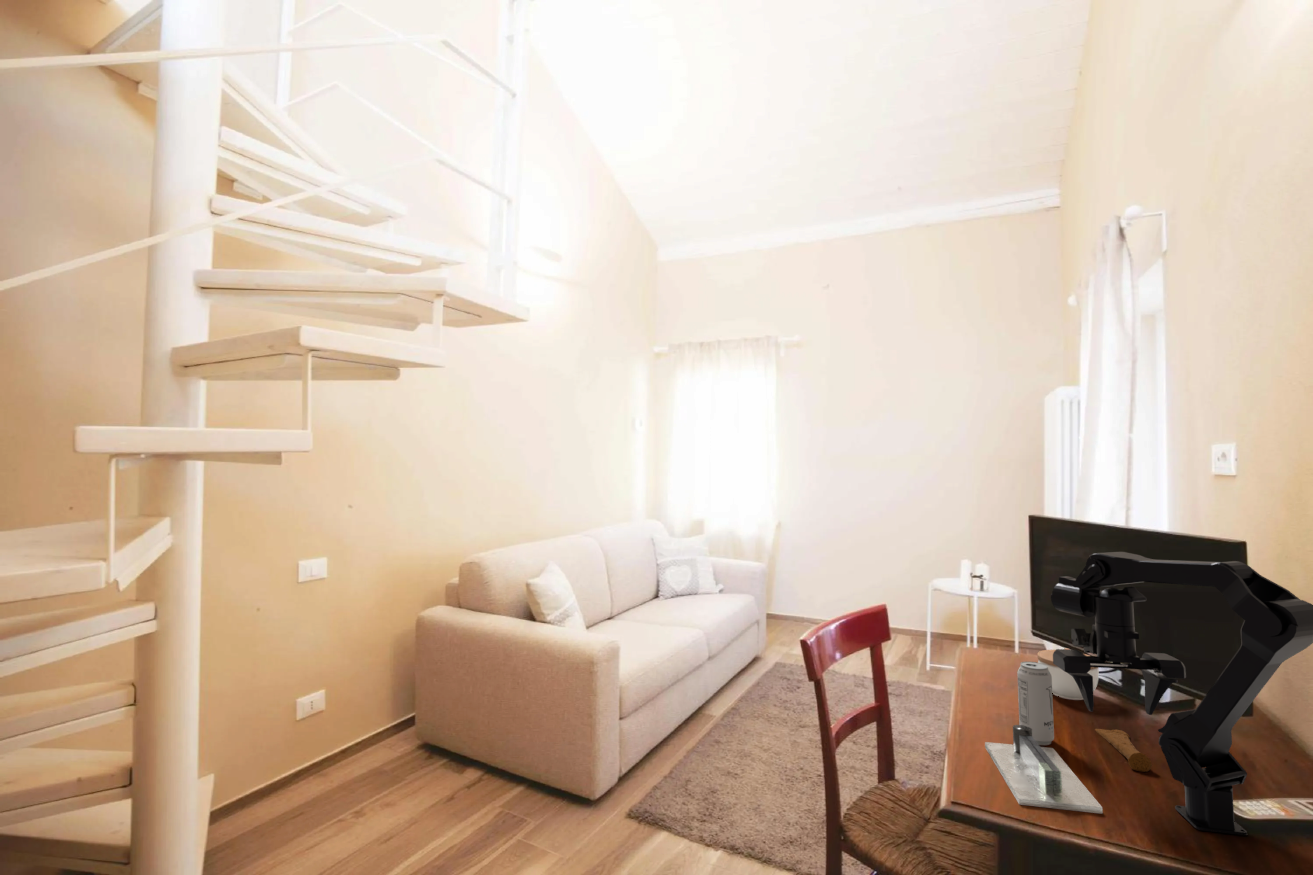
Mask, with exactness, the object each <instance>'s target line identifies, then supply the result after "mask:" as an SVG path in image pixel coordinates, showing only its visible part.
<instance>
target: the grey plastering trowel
mask: <svg viewBox="0 0 1313 875" xmlns="http://www.w3.org/2000/svg"><path fill="white" fill-rule="evenodd" d="M1026 735H1028V736H1032V729H1031V728H1030V727H1027V726H1024V725H1019V724H1014V725H1013V726H1012V738H1013V744H1011V743H1002V742H1001V743H1000V742H988V741H985V742H984V748H985V749H986V751H987V753H988V754H989V756H990V758H991V760H992V761H993V763H994V764H995V767H996V768H997V769H998V771H999V773H1000V775H1001V776H1002V778H1003V780H1004V782H1005V783H1006V785H1007V787H1008V789H1010V790H1009V791H1010V792H1011V793H1012V795H1013V796H1014V798H1015V799H1016V801H1017V803H1018V805H1022V806H1030V807H1039V808H1047V809H1056V810H1057V809H1058V810H1065V811H1074V812H1084V813H1092V814H1093V813H1094V814H1103V806H1102V805H1101V804H1100V803H1099V802H1098V800H1097V799H1096V798H1095V797H1094V795H1093V794H1092V793H1091V792H1090V791H1089V790H1088V788H1087V787H1086V785H1084V784H1083V782H1082V781H1081V780H1080V779H1079V777H1078V776H1077V775H1076V774H1075V773H1074V772H1073V771H1072V769H1071V768H1070V767H1069V765H1068V764H1067V763H1066V762H1065V761H1064V760H1063V758H1062V757H1061V756H1060V755H1059V753H1058V752H1057V751H1056V750H1055V749H1054V748H1053V747H1045V746H1040V747H1041V748H1042V750H1043V751H1044V752H1045V753H1046V755H1047V756H1048V757H1049V758H1050V760H1051V761H1052V762H1053V763H1054V764H1056V766H1057V767H1058V768H1059V769H1060V771H1061V778H1062V793H1056V792H1053V771H1052V769H1051V768H1050V767H1049V766H1048V764H1047V763H1046V762H1045V761H1044V760H1043V758H1042V757H1041V756H1040V754H1039V753H1038V752H1037V751H1036V749H1035V748H1034V747H1033V745H1032V744H1031V743H1030V741H1029V740H1028V739H1027V738H1026Z"/></svg>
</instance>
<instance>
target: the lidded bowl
mask: <svg viewBox="0 0 1313 875" xmlns="http://www.w3.org/2000/svg"><path fill="white" fill-rule="evenodd" d="M1064 649H1067V650H1071V649H1070V648H1064ZM1055 650H1056V649H1044V650H1040V651H1038V652H1037V660H1038V661H1037V663H1042V664H1045V665H1047V666H1048V670H1049V672H1050V674H1051V676H1052V693H1053V694H1052V695H1054V696H1056V697H1058V696H1059V697H1058V698H1061V699H1066V700H1071V701H1084V699H1083V697H1082V694H1081V692H1080V690H1079V687H1078V685H1077V683H1076V682H1075V680H1074V678H1073V677H1072V676H1071V675H1069V674H1068V673H1067V672H1064V671H1063V670H1062V669H1060V668H1059V667H1057V666H1056V665H1055V664H1053V653H1054V652H1055ZM1083 654H1084V655H1086V656H1090V654H1086V653H1083ZM1099 670H1100V669H1099V668H1098V667H1091V670H1090V671H1088V673H1089V674H1090V675H1092V676H1093V692H1095V690H1096V688H1097V686H1098V683H1099V676H1100V674H1099V672H1100V671H1099Z"/></svg>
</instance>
